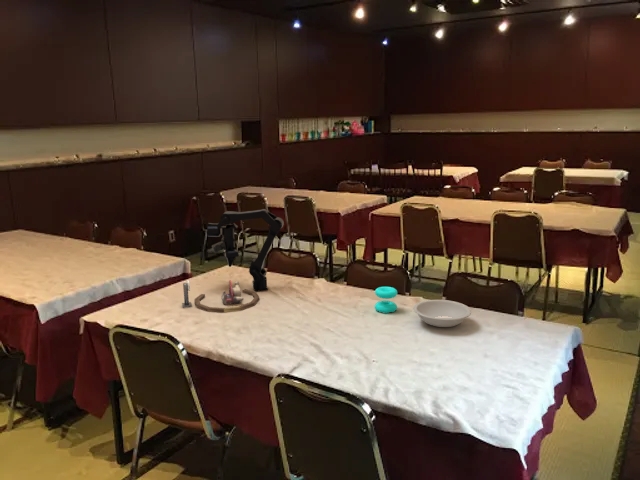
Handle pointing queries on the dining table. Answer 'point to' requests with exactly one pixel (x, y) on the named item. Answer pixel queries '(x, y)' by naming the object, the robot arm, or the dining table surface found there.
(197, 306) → the bent brown bar
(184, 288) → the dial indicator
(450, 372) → the dining table surface
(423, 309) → the soup bowl
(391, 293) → the donuts
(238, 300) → the brake caliper
